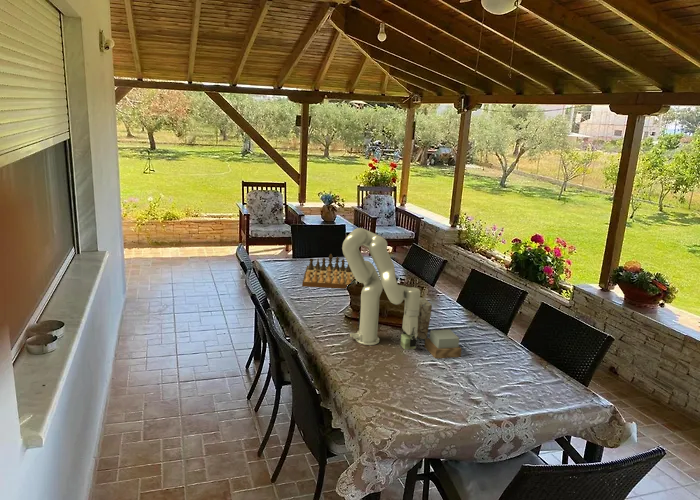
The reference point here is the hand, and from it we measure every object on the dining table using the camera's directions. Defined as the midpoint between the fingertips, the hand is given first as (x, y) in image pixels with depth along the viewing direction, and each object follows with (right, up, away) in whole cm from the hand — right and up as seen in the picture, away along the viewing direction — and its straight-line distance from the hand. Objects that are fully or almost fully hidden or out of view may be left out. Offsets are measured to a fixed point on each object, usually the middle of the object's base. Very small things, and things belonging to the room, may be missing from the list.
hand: (409, 342), depth 271 cm
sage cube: (-1, -2, +1) cm, 3 cm away
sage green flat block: (+17, 0, -4) cm, 18 cm away
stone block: (+7, +1, +17) cm, 19 cm away
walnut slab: (+17, -5, -3) cm, 17 cm away
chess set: (-43, +26, +104) cm, 116 cm away
